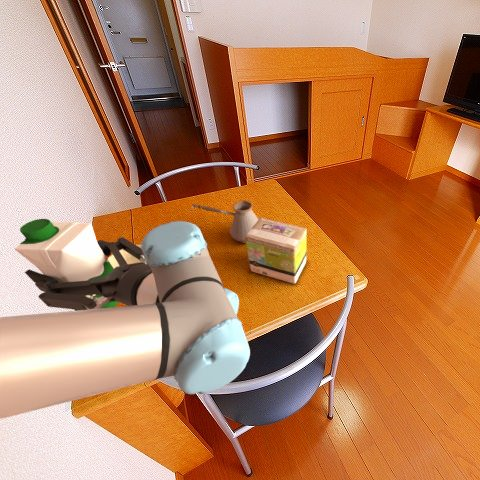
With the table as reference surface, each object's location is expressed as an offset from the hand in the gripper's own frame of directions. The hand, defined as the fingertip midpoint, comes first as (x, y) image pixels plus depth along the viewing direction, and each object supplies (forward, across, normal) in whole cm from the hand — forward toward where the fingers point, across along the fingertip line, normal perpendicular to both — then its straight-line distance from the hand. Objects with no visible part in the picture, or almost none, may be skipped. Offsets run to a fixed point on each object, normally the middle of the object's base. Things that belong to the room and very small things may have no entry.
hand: (58, 258), depth 53 cm
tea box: (-30, +33, -24) cm, 51 cm away
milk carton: (-5, 0, -11) cm, 12 cm away
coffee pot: (-9, +41, -24) cm, 48 cm away
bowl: (+10, +17, -24) cm, 31 cm away
